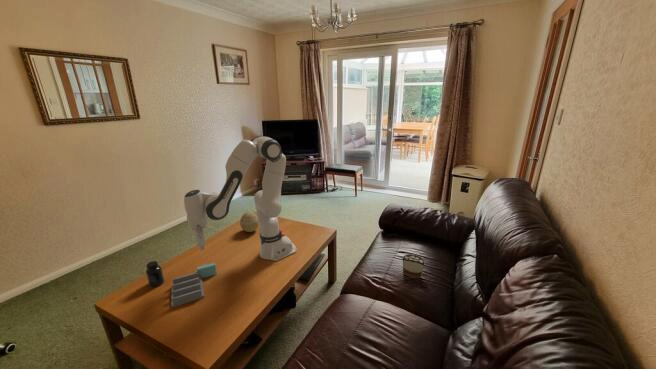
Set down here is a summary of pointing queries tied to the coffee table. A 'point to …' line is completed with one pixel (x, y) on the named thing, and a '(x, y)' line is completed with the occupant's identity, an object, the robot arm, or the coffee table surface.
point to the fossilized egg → (249, 222)
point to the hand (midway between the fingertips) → (201, 245)
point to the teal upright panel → (206, 270)
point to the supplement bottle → (154, 274)
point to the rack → (186, 289)
